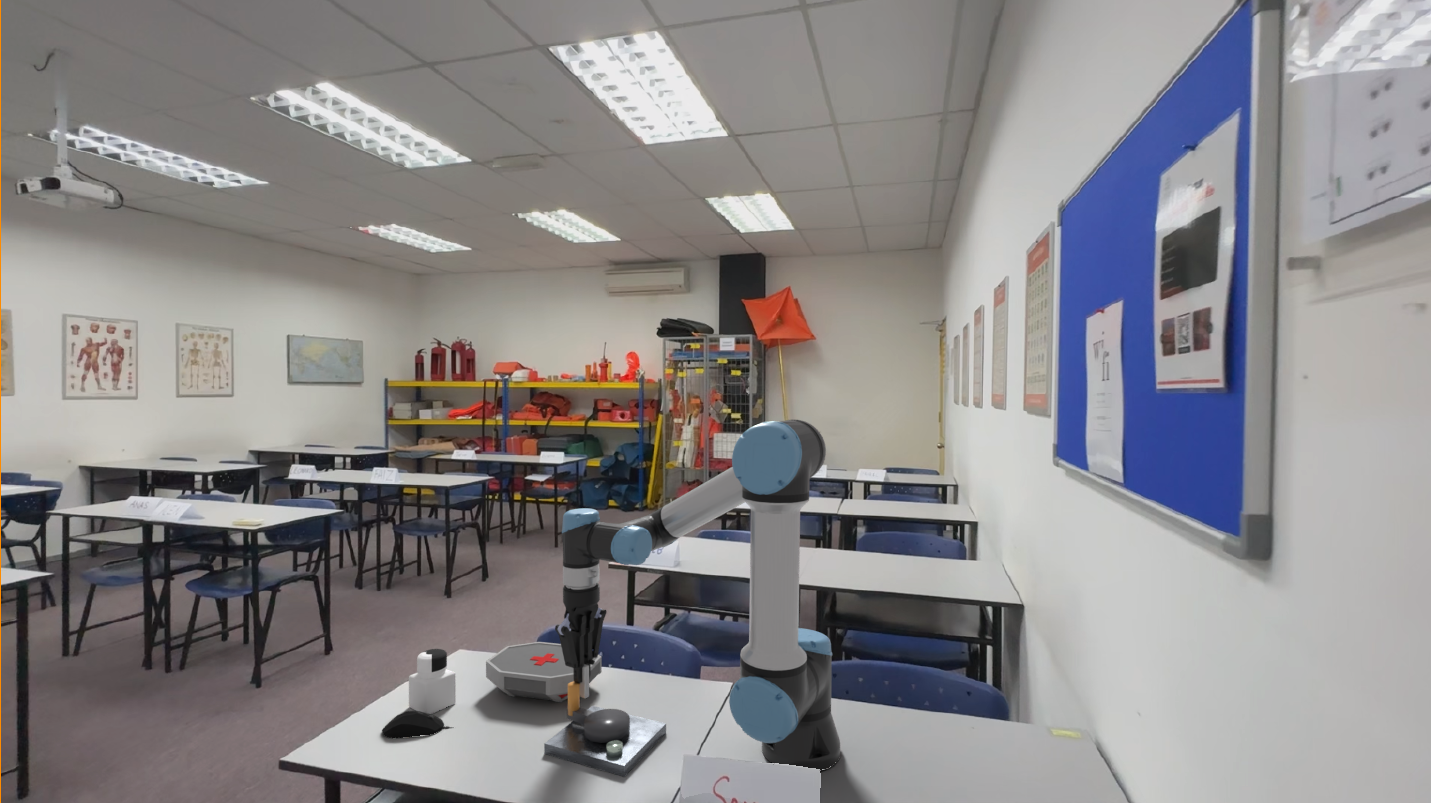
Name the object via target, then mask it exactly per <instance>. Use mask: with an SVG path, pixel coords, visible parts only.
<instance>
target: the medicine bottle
mask: <svg viewBox="0 0 1431 803" xmlns="http://www.w3.org/2000/svg"><path fill="white" fill-rule="evenodd" d="M456 683H457V682H456V672H455V671H452V670H450V669H448V652H447V651H446V650H444V649H442V648H431V649H427V650H424V651H422V652H421V653H419V654H418V655H417V658H416V672H415V673H413V674H412V673H411V674H410V675H409V676H408V707H409V708H411V709H412V710H413V711H420V712H424V713H428V714H431V715H433V714H435V713H437V712H439V710H440V711H441V710H444V709H447V708H449V707H452V706H453V705H455V704H456V698H457V697H456V696H457V695H456V691H457V690H456V689H457V688H456V685H457V684H456ZM448 706H449V707H448ZM446 707H447V708H446Z"/></svg>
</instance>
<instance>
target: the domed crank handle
mask: <svg viewBox="0 0 1431 803" xmlns="http://www.w3.org/2000/svg"><path fill="white" fill-rule="evenodd" d="M580 698H581V697H580V683H576V682H570V683H568V699H567V708H566V719H567V720H569V721H571V722H572V721H574V722H577V723H580V724H582V725H584V735H585V737H586V738H587V739H589V740H591V741H593V742H599V743H608V742H610V741H614V740H619V739H622V738H623V737H625V736H626V735H627V734H628V733H629V731H630V717H629V715H630V714H629V713H627V712H626V711H625V710H621V709H617V708H604V709H603V710H599V711H595V712H592V711H589V710H588V709H586V708H583V707H582V706H581V703H580V702H581V700H580ZM580 706H581V707H580ZM628 714H629V715H628Z"/></svg>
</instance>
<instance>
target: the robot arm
mask: <svg viewBox="0 0 1431 803" xmlns="http://www.w3.org/2000/svg"><path fill="white" fill-rule="evenodd" d="M826 453H827V449H826V443H825V439H824V437H823V435H822V434H821V432H820V431H819V430H818V429H817V427H815V426H814V425H812V424H811V423H809V422H807V421H804V420H800V419H786V420H776V421H775V420H772V421H763V422H760V423H758V424H756V425H753V426H751V427H749V428H748V429H746V430H745V431H744V432H743V433H741V435H740V436H739V438H738V439H737V440H736V443H735V444H734V448H733V450H732V455H731V456H732V457H731V464H732V466H731V467H729V468H728V469H726V470H725V471H722V472H720V473H719V474H717V475H716V476H714V477H712V478H710V479H709V480H707V481H706V482H703V483H702V484H700V485H699V486H696V487H695V488H693V489H692V490H690V491H688V492H686V493H684V494H683V495H681V496H680V497H677V498H676V499H674V500H672V501H670V502H668V503H667V504H665V505H663V506H662V507H660V508H659V509H656V510H655V511H653V512H652V513H649V514H647V515H645V516H642V517H638V518H634V519H631V520H628V521H624V522H621V523H612V522H605V521H601V518H600V512H599V510H596V509H594V508H590V507H589V508H586V507H585V508H583V507H582V508H575V509H570V510H567V511H565V512H564V514H563V516H562V527H561V528H562V530H561V536H562V537H561V538H562V584H563V587H562V603H563V604H564V607H565V612H564V614H563V615H564V616H563V621H562V622H561V624H556V625H555V627H554V630H555V632H556V633H557V635H558V636H559V642H560V643H559V644H561V647H562V652H563V656H564V661H565V665H566V666H569V667H571V668H573V676H574V682H576V683H580V698H582V699H586V698H589V697H590V683H589V678H590V675H591V665H593V664H594V663H595V661H594V660H592V659H593V658H596V657H597V656H598V655H599V650H600V645H601V644H600V643H601V638H602V637H601V636H602V632H603V625H604V620H605V617H606V616H607V610H606V609H603V608H600V607H599V602H600V600H601V599H600V598H601V592H600V591H601V586H600V584H599V582H600V561H605V562H612V563H616V564H621V565H624V566H629V565H630V566H631V565H632V566H639V565H642V564H644V563H645V562H646V560H647V559H648V558H649V557H650V555H651V553H652V552H653V551H655V550H658V549H661V548H666V547H668V546H669V545H671V544H673V543H675V542H677V540H678V539H680V538H682V537H684V536H685V535H686V534H690V533H691V532H693V531H694V530H696V529H698V528H700V527H702V526H704V525H706V524H708V523H709V522H711V521H713V520H715V519H716V518H717V519H718V518H719V517H721V516H723V515H725V514H726V513H727V512H730V511H732V510H734V509H736V508H737V507H739V506H741V505H743V504H745V503H746V505H748V506H749V508H750V540H749V541H750V548H749V549H750V552H749V554H750V556H749V621H748V622H749V626H748V628H749V630H748V632H749V633H748V636H749V637H748V640H749V641H748V643H747V644H746V645H744V646H743V648H741V650H740V655H739V658H740V659H739V662H740V664H739V669H740V670H739V671H740V672H739V679H738V680H736V681H735V683H734V684H733V686H732V689H731V690H730V693H729V696H728V697H729V700H728V703H729V709H730V713H731V715H732V718H733V720H734V721H735V723H736V724H737V725H738V726H740V728H741V730H742V732H744V733H745V734H746V735H747V736H749V738H751V739H754V740H755V741H757V742H761V751H762V753H763V756H764V757H765V759H766V760H767V761H769V763H771V762H772V763H779V764H789V765H796V766H803V767H808V768H816V769H820V770H821V771H820V772H823V771H822V769H826V768H829V767H830V766H832V765H833V764H835V762H837V761H838V762H839V760H840V758H841V739H840V736H839V733H838V731H837V727H836V724H835V721H834V718H833V714H832V656H833V652H832V643H831V639H830V637H828V636H827V635H825V634H824V633H822V632H819V631H818V630H817V631H816V630H813V629H809V628H804V627H803V628H801V627H799V626H800V625H799V624H800V623H799V616H800V613H799V612H800V611H799V610H800V556H801V555H800V552H801V550H800V544H801V542H800V540H801V536H800V534H801V533H800V532H801V510H802V508H803V507H804V506H805V505H806V504H808V502H809V501H810V479H811V478H812V477H814V476H815V475H816V474H817V473H818V472H819V471H820V470H821V468H822V466H824V463H825V460H826V455H827V454H826ZM839 757H840V758H839ZM838 759H839V760H838ZM838 762H837V763H838ZM772 763H771V764H772ZM835 765H836V764H835ZM832 767H833V766H832ZM829 769H830V768H829Z"/></svg>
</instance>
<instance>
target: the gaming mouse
mask: <svg viewBox="0 0 1431 803" xmlns="http://www.w3.org/2000/svg"><path fill="white" fill-rule="evenodd" d="M454 727H455V726H454ZM454 727H452V726H451V727H450V726H449V725H447V726H445V722H444V721H443V719H441V718H440V717H438V716H437V715H433V714H428V713H424V712H420V711H416V710H407V711H404V712H402V713H400V714H397V715H396V716H394V718H392V720H390V721H389V722H388V723H387V724H386V725H385V726H383V728H382V729H381V733H382V735H383V736H384V737H385V738H388V739H393V738H396V739H404V738H403V737H409V738H413V737H412V736H420V735H429V736H431V735H430V734H433V735H435V734H434V733H436V732H437V733H439V732H441V731H442V729H443V730H444V729H445V730H448V729H455V728H454ZM438 731H439V732H438ZM437 733H436V734H437Z"/></svg>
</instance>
